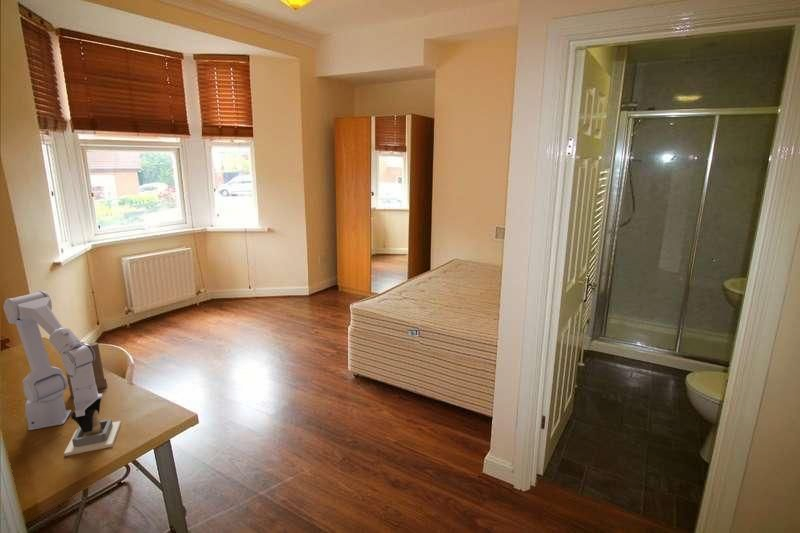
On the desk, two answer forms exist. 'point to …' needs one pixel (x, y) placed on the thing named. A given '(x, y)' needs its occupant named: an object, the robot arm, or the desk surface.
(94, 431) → the rail end peg
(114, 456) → the desk surface
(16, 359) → the desk surface
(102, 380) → the wooden block
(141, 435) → the desk surface
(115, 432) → the cup bracket
